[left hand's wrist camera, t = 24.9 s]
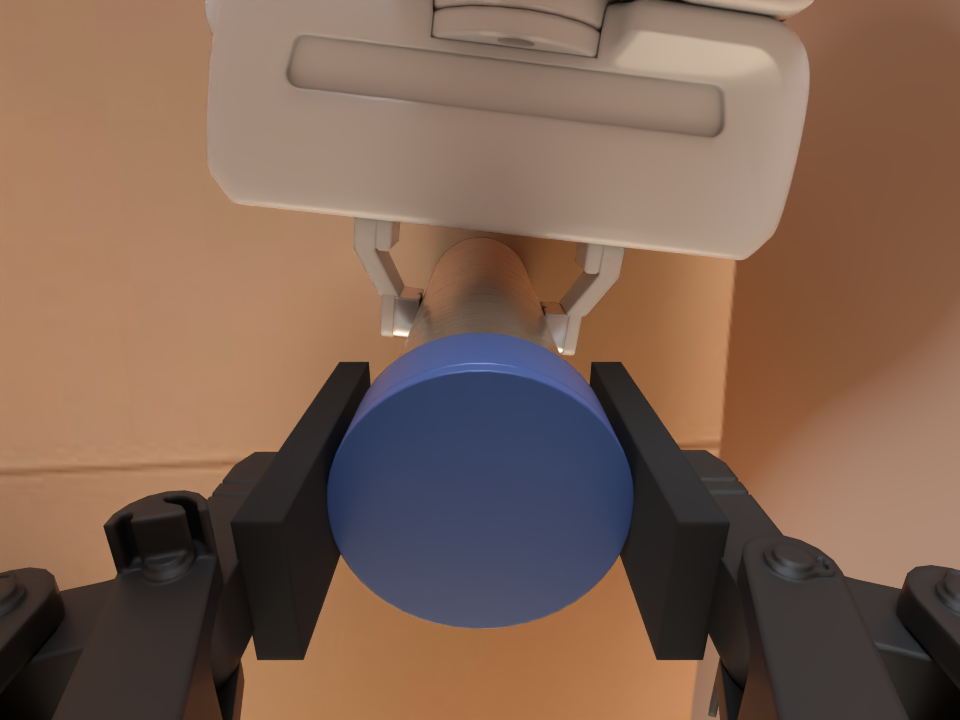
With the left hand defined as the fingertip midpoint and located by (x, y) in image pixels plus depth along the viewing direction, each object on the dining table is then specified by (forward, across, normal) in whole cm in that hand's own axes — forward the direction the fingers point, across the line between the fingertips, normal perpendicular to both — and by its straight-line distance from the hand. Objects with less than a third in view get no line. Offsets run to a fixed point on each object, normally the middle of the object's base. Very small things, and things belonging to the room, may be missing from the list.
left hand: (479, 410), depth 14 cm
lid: (-4, 0, 0) cm, 4 cm away
